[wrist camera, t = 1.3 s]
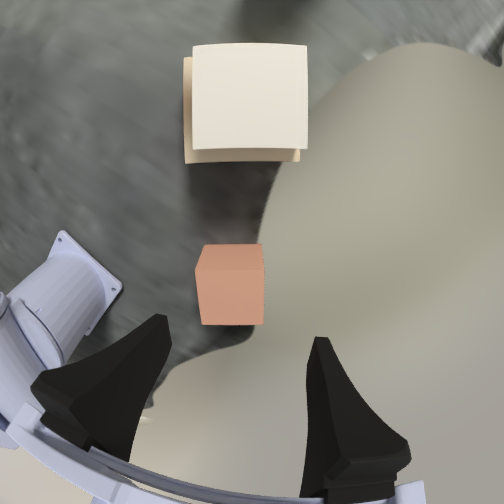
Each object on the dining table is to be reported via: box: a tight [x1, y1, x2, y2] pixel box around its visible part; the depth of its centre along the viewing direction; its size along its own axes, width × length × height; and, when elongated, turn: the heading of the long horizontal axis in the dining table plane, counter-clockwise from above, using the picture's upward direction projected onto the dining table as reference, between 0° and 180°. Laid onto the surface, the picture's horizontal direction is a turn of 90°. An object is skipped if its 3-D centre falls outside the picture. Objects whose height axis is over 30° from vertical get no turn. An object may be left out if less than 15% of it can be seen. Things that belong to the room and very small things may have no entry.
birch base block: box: [183, 57, 300, 164], centre depth 16 cm, size 7×7×3 cm
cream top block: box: [192, 43, 308, 150], centre depth 13 cm, size 6×6×3 cm
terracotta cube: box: [195, 244, 264, 325], centre depth 20 cm, size 4×4×4 cm
